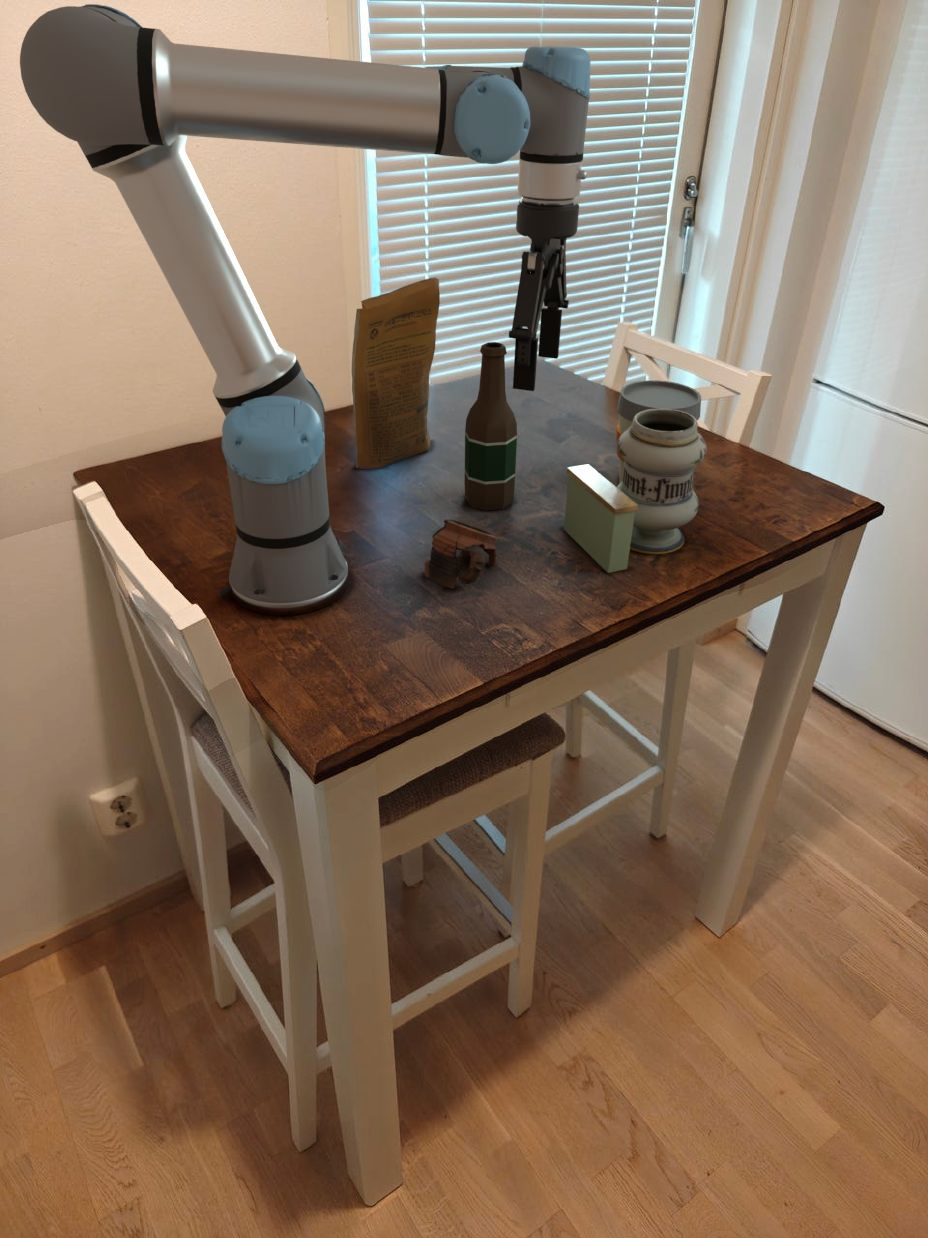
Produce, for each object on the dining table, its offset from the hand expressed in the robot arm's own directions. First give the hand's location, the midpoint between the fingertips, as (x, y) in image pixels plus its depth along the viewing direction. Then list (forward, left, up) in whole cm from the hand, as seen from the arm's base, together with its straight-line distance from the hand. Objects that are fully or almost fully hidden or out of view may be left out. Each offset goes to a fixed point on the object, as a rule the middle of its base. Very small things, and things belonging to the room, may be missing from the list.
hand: (536, 372), depth 119 cm
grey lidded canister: (+23, +4, -23) cm, 33 cm away
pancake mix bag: (-11, +28, -23) cm, 38 cm away
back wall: (+5, -11, -23) cm, 25 cm away
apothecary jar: (+14, -11, -23) cm, 29 cm away
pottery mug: (-15, -11, -23) cm, 29 cm away
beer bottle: (-3, +8, -23) cm, 24 cm away
